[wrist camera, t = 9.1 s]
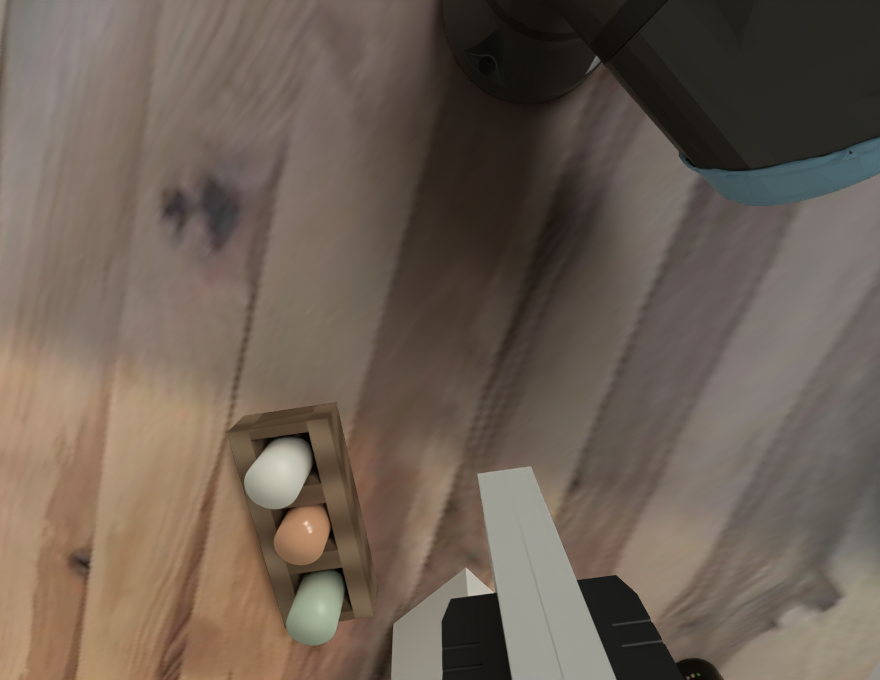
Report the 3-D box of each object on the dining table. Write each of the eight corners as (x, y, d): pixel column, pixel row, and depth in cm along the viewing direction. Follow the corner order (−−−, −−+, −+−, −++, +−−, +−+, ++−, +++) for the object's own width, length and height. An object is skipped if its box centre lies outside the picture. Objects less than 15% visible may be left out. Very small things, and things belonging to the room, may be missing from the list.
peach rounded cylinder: (285, 496, 48) (268, 526, 43) (330, 489, 47) (318, 519, 43) (295, 534, 49) (280, 568, 44) (339, 528, 49) (328, 561, 44)
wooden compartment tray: (244, 415, 46) (226, 433, 42) (336, 402, 46) (327, 418, 42) (296, 598, 52) (285, 628, 48) (378, 587, 52) (373, 616, 48)
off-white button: (259, 438, 44) (237, 464, 39) (308, 431, 44) (292, 456, 39) (271, 482, 45) (252, 512, 40) (319, 475, 45) (305, 505, 40)
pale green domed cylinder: (296, 570, 48) (280, 608, 43) (341, 563, 48) (330, 602, 43) (306, 606, 49) (292, 648, 44) (350, 601, 49) (341, 642, 44)
